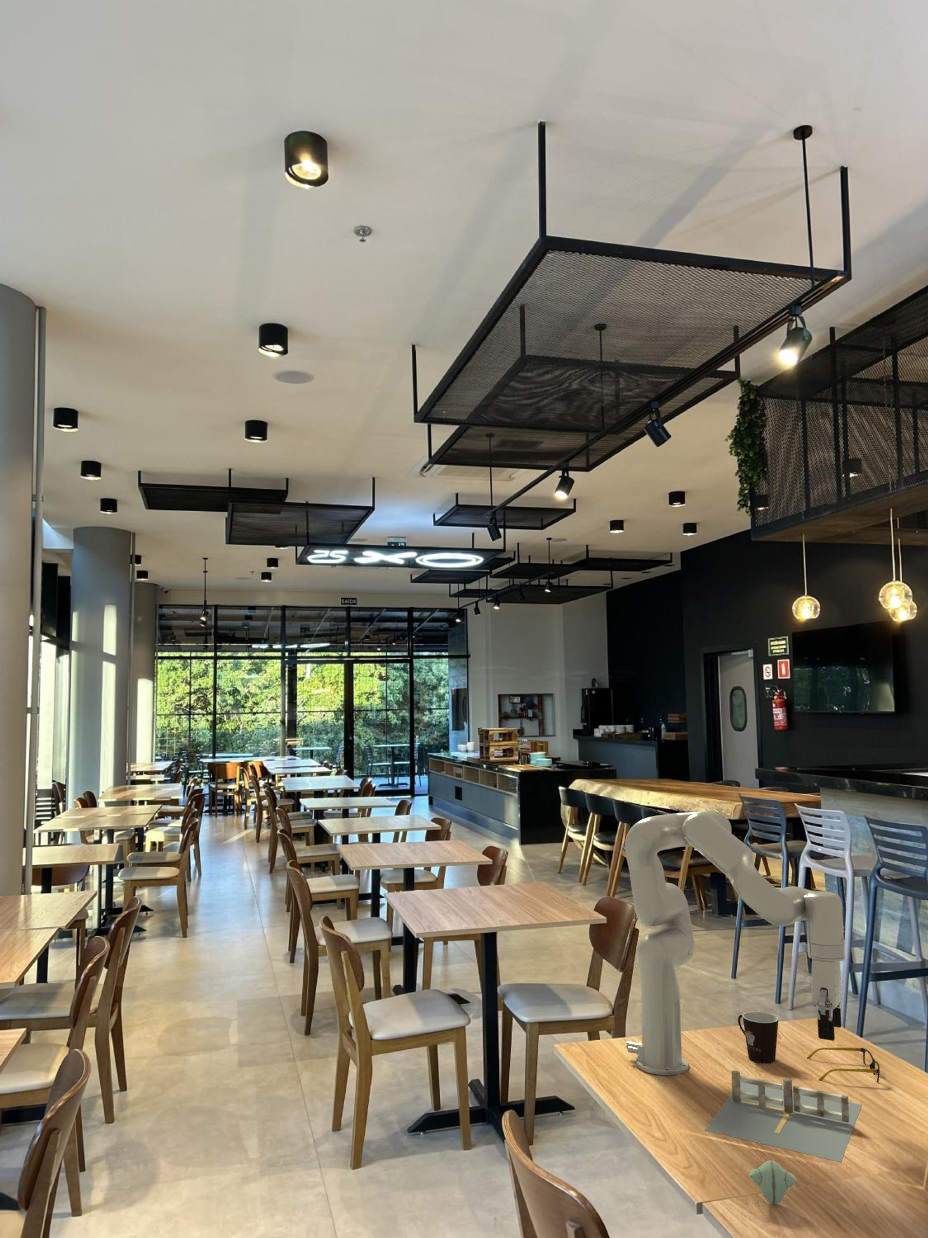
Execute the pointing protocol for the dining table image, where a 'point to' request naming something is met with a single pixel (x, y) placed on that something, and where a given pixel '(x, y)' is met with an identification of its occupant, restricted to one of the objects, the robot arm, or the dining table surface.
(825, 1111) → the fence gate
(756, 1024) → the coffee mug
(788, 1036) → the dining table surface
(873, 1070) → the eyeglasses
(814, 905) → the robot arm
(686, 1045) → the dining table surface
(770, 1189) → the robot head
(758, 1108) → the card
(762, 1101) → the fence section
